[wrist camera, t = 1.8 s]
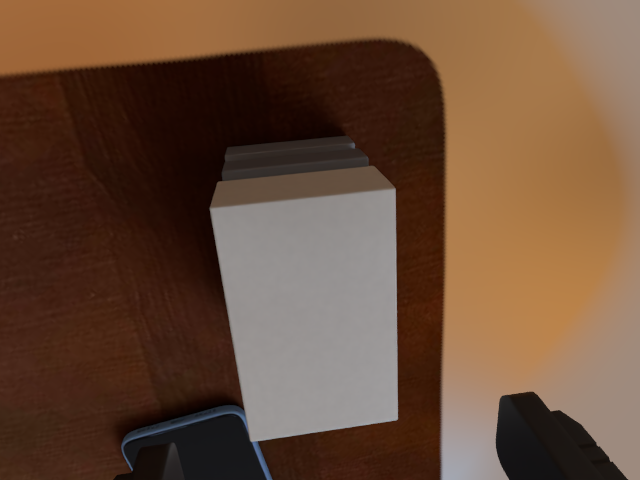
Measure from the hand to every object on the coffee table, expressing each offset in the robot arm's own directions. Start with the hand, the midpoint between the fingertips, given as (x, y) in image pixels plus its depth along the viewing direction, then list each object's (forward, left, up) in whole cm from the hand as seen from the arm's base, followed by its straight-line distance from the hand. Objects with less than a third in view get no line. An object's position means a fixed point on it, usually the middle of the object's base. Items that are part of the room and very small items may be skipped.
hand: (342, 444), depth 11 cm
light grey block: (0, 0, -8) cm, 8 cm away
